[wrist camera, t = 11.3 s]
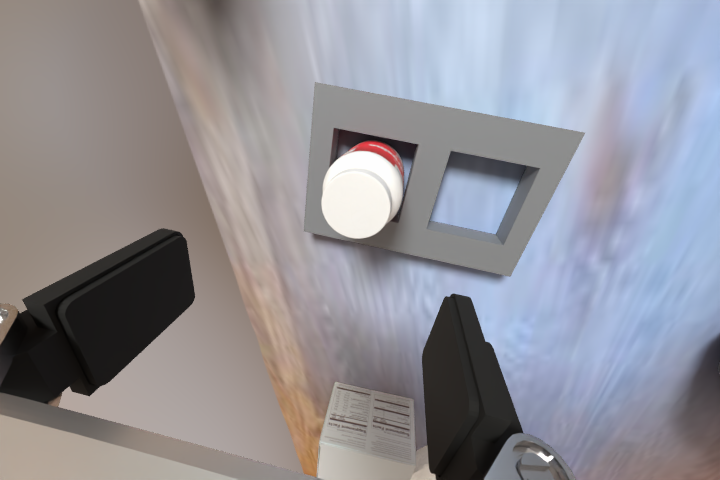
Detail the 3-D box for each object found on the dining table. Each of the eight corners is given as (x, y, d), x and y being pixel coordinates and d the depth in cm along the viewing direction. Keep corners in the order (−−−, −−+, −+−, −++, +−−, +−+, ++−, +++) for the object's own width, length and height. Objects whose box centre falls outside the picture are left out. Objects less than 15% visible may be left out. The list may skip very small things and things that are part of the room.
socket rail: (568, 130, 24) (585, 132, 21) (502, 263, 30) (510, 276, 28) (323, 84, 25) (315, 82, 23) (310, 222, 31) (303, 231, 29)
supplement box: (396, 453, 50) (394, 522, 42) (327, 437, 51) (312, 501, 43) (415, 398, 43) (418, 468, 34) (334, 379, 44) (317, 444, 35)
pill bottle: (415, 177, 27) (421, 219, 18) (367, 210, 30) (348, 263, 20) (379, 124, 26) (363, 137, 16) (331, 164, 28) (291, 196, 18)
